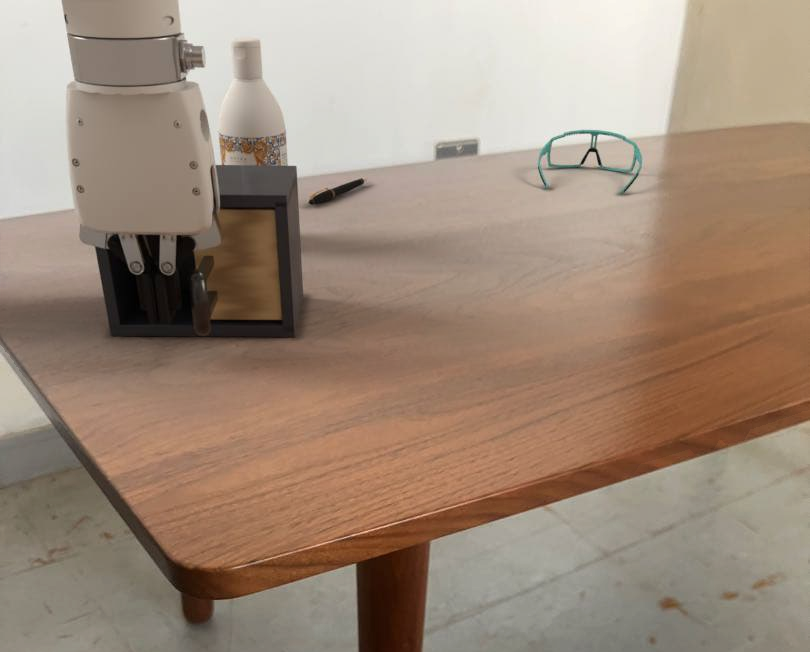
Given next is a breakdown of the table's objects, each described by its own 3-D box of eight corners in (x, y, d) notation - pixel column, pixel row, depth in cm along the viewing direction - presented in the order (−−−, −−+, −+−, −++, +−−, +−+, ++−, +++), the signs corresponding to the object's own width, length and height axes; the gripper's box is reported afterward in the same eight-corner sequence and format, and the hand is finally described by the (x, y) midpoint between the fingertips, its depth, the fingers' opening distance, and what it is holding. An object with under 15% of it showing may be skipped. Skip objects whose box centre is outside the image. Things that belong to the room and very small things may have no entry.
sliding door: (188, 349, 74) (173, 232, 69) (203, 316, 80) (190, 206, 75) (274, 350, 75) (266, 233, 69) (283, 316, 81) (276, 207, 75)
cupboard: (110, 336, 80) (84, 193, 73) (136, 295, 88) (115, 163, 81) (294, 337, 80) (286, 195, 73) (303, 296, 88) (296, 165, 82)
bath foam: (217, 247, 100) (195, 40, 89) (248, 229, 106) (231, 33, 94) (273, 255, 99) (259, 45, 87) (302, 237, 104) (292, 37, 92)
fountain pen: (364, 183, 124) (364, 171, 123) (371, 184, 124) (371, 172, 123) (304, 207, 114) (304, 195, 113) (312, 209, 113) (312, 196, 113)
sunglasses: (640, 168, 132) (645, 132, 129) (636, 206, 121) (641, 168, 118) (542, 162, 135) (546, 126, 132) (530, 198, 124) (533, 160, 121)
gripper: (245, 57, 66) (262, 303, 77) (36, 52, 66) (82, 299, 76) (230, 74, 60) (250, 338, 71) (0, 68, 60) (55, 335, 70)
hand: (163, 317), depth 74 cm, fingers closed
